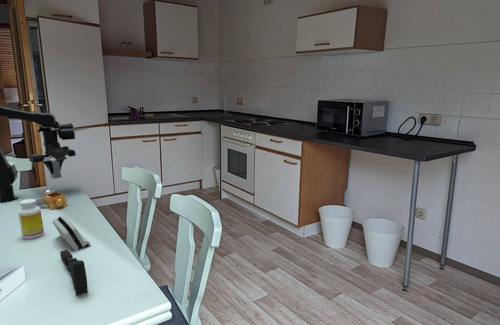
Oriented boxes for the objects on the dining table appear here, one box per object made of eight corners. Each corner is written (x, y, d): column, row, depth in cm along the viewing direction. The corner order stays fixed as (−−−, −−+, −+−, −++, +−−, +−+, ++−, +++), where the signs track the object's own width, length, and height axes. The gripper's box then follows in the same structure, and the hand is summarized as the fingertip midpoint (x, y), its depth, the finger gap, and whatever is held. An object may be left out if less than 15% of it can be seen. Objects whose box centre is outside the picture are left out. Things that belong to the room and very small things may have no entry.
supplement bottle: (46, 235, 125) (41, 200, 122) (25, 241, 121) (19, 205, 118) (40, 230, 130) (35, 196, 127) (19, 235, 125) (14, 201, 122)
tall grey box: (50, 177, 169) (48, 161, 167) (57, 176, 171) (55, 159, 169) (54, 178, 166) (52, 162, 164) (61, 177, 169) (59, 161, 167)
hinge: (91, 246, 117) (77, 222, 113) (78, 255, 114) (63, 231, 110) (75, 230, 129) (61, 208, 125) (62, 238, 126) (48, 216, 122)
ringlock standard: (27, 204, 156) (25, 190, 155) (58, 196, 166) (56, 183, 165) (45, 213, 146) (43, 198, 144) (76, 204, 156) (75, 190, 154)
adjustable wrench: (72, 271, 111) (89, 294, 90) (62, 274, 109) (77, 297, 89) (67, 245, 110) (84, 262, 90) (58, 248, 109) (72, 265, 88)
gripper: (36, 145, 153) (42, 180, 156) (79, 139, 167) (83, 171, 170) (26, 143, 159) (31, 176, 163) (68, 137, 173) (71, 168, 177)
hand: (55, 173), depth 168 cm, fingers closed on tall grey box, 3 cm apart
